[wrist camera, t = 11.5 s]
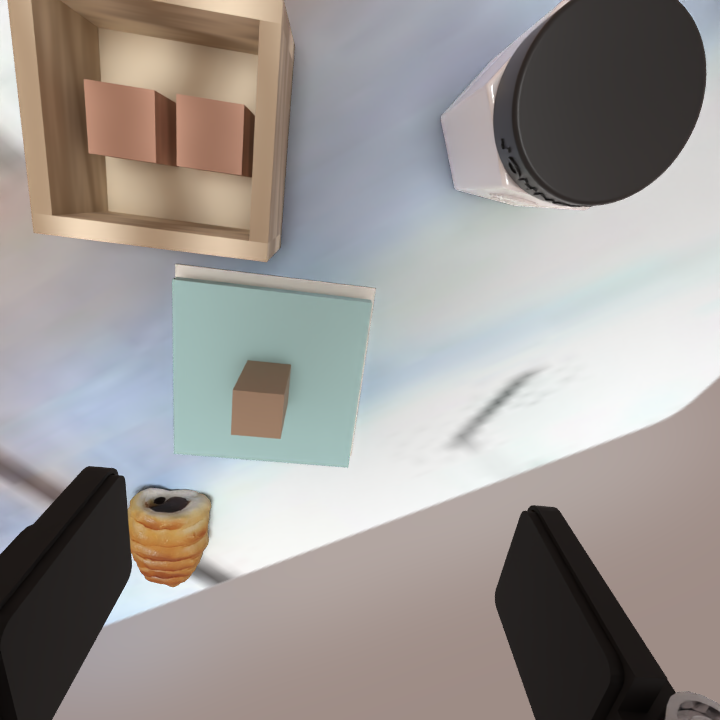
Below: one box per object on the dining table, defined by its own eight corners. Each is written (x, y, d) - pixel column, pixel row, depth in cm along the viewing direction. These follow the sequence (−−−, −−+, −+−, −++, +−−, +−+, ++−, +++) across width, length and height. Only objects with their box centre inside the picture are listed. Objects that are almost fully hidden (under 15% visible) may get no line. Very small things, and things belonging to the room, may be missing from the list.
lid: (369, 295, 32) (379, 323, 25) (347, 450, 37) (350, 510, 30) (184, 272, 31) (141, 296, 24) (184, 436, 35) (147, 496, 28)
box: (294, 45, 27) (283, -3, 20) (280, 247, 31) (266, 262, 24) (85, 8, 26) (1, -56, 19) (99, 224, 30) (33, 232, 23)
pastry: (210, 572, 41) (198, 609, 37) (134, 567, 40) (114, 603, 37) (215, 487, 38) (202, 518, 34) (132, 480, 37) (111, 510, 33)
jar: (421, 184, 30) (476, 178, 19) (459, 46, 27) (548, -56, 16) (542, 216, 31) (661, 229, 20) (589, 87, 29) (756, 19, 17)
